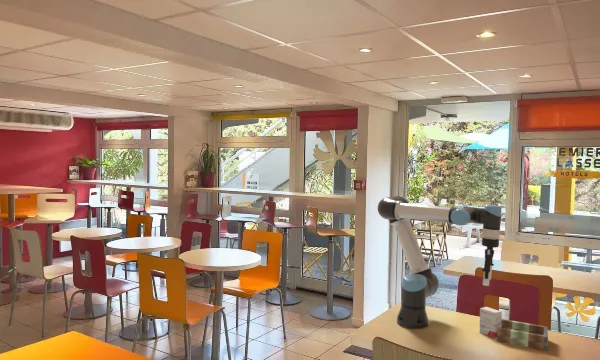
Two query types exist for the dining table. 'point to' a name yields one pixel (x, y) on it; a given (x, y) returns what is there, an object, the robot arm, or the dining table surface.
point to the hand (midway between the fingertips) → (486, 282)
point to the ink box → (490, 321)
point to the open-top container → (523, 334)
